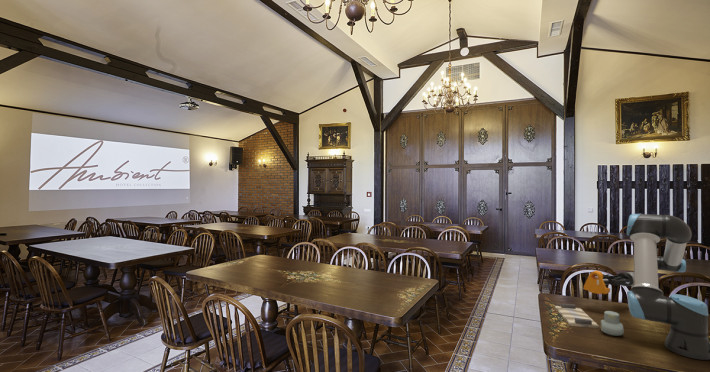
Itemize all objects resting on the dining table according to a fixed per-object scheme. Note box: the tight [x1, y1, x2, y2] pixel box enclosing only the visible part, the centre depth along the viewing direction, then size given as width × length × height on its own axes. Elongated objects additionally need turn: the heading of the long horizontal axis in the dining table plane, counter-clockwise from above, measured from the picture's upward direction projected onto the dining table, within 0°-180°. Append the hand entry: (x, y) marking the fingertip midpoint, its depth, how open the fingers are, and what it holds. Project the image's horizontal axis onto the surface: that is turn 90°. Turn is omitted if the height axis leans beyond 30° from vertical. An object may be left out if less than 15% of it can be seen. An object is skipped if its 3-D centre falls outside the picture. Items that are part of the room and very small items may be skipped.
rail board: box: [554, 302, 600, 329], centre depth 186 cm, size 26×13×3 cm, turn 164°
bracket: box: [583, 270, 611, 295], centre depth 195 cm, size 11×7×12 cm, turn 37°
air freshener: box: [600, 310, 624, 337], centre depth 166 cm, size 11×8×10 cm
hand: (593, 280), depth 194 cm, fingers closed on bracket, 5 cm apart
